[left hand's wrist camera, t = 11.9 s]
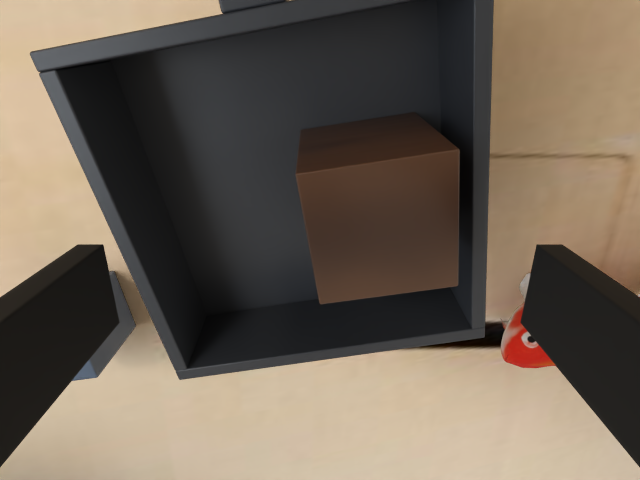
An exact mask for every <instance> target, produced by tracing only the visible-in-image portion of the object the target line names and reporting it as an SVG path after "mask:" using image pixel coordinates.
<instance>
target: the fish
mask: <svg viewBox="0 0 640 480" xmlns="http://www.w3.org/2000/svg"><path fill="white" fill-rule="evenodd" d="M530 274H531V273H528V274H526V276H525V277H524V279H523V280H522V282H521V283H520V287H519V289H520V292H521V294H522V295H523V298H524V303H525V298H526V293H527V289H528V284H529V279H530ZM638 297H640V294H639V295H638ZM524 303H523V304H522V305H520V306H519V307H518V308H517V309H516V310H515V311H514V313H513V315H512V316H511V318H510V320H509V322H503V321H502V319H501V318H500V319H501V321H502V324H503V327H504V329H505V331H504V334H503V338H502V343H501V353H502V356H503V359H504V360H505V361H506V362H508V363H511V364H514V365H516V366H519V367H523V368H540V367H546V366H556V365H555V364H554V363H553V362H552V360H551V359H550V358H549V357H548V355H547V354H546V353H545V352H544V351H543V349H542V348H541V347H540V346H539V345H538V343H537V342H536V341H535V340H534V339H533V337H532V336H531V335H530V334H529V332H528V331H527V330H526V329H525V328H524V326H523V325H522V324H521V323H520V322H521V317H522V312H523V307H524Z"/></svg>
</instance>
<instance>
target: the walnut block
mask: <svg viewBox="0 0 640 480" xmlns="http://www.w3.org/2000/svg"><path fill="white" fill-rule="evenodd" d="M459 164H460V150H459V149H458V148H457V147H456V146H455V145H454V144H452V143H451V142H450V141H449V140H448V139H446V138H445V137H444V136H443V135H442V134H440V133H439V132H438V131H437V130H436V129H434V128H433V127H432V126H431V125H430V124H428V123H427V122H426V121H425V120H424V119H422V118H421V117H420V116H419V115H418V114H416V113H415V112H411V113H405V114H398V115H392V116H386V117H379V118H373V119H366V120H360V121H354V122H347V123H341V124H335V125H328V126H322V127H316V128H309V129H303V130H300V138H299V147H298V156H297V165H296V174H295V176H296V181H297V186H298V192H299V197H300V202H301V208H302V213H303V218H304V224H305V229H306V234H307V240H308V245H309V250H310V256H311V261H312V267H313V272H314V277H315V283H316V288H317V293H318V299H319V303H320V304H326V303H334V302H341V301H349V300H356V299H364V298H371V297H379V296H386V295H394V294H402V293H409V292H417V291H424V290H432V289H439V288H447V287H454V286H458V259H459Z"/></svg>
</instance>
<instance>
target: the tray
mask: <svg viewBox="0 0 640 480" xmlns="http://www.w3.org/2000/svg"><path fill="white" fill-rule="evenodd" d="M219 4H220V8H221V11H222V13H223V14H220V15H215V16H210V17H205V18H200V19H195V20H190V21H184V22H179V23H174V24H169V25H164V26H159V27H154V28H149V29H144V30H139V31H134V32H129V33H123V34H118V35H113V36H108V37H103V38H98V39H93V40H88V41H83V42H78V43H73V44H68V45H63V46H57V47H52V48H47V49H42V50H37V51H32V52H30V56H31V58H32V60H33V62H34V64H35V66H36V69H37V71H38V72H41V73H39V75H40V77H41V80H42V82H43V84H44V86H45V88H46V90H47V93H48V95H49V97H50V99H51V101H52V103H53V106H54V108H55V110H56V112H57V114H58V117H59V119H60V121H61V123H62V125H63V127H64V130H65V132H66V134H67V136H68V138H69V140H70V143H71V145H72V147H73V149H74V151H75V154H76V156H77V158H78V160H79V162H80V164H81V167H82V169H83V171H84V173H85V175H86V177H87V180H88V182H89V184H90V186H91V188H92V190H93V193H94V195H95V197H96V199H97V201H98V204H99V206H100V208H101V210H102V212H103V214H104V217H105V219H106V221H107V223H108V225H109V227H110V230H111V232H112V234H113V236H114V238H115V240H116V243H117V245H118V247H119V249H120V251H121V254H122V256H123V258H124V260H125V262H126V264H127V267H128V269H129V271H130V273H131V275H132V277H133V280H134V282H135V284H136V286H137V288H138V291H139V293H140V295H141V297H142V299H143V301H144V304H145V306H146V308H147V310H148V312H149V314H150V317H151V319H152V321H153V323H154V325H155V327H156V330H157V332H158V334H159V336H160V338H161V341H162V343H163V345H164V347H165V349H166V351H167V354H168V356H169V358H170V360H171V362H172V364H173V367H174V369H175V370H176V373H177V375H178V378H179V379H180V380H182V379H189V378H196V377H203V376H211V375H218V374H225V373H232V372H239V371H246V370H254V369H261V368H268V367H275V366H282V365H289V364H297V363H304V362H311V361H318V360H325V359H332V358H340V357H347V356H354V355H361V354H368V353H375V352H383V351H390V350H397V349H404V348H411V347H418V346H426V345H433V344H440V343H447V342H454V341H461V340H469V339H476V338H483V337H485V306H486V268H487V231H488V193H489V156H490V118H491V81H492V44H493V6H494V0H291V1H289V0H219ZM411 112H415V113H416V114H418V115H419V116H420V117H421V118H422V119H424V120H425V121H426V122H427V123H428V124H430V125H431V126H432V127H433V128H434V129H436V130H437V131H438V132H439V133H440V134H442V135H443V136H444V137H445V138H446V139H448V140H449V141H450V142H451V143H452V144H454V145H455V146H456V147H457V148H458V149H459V150H460V164H459V259H458V286H454V287H447V288H439V289H432V290H424V291H417V292H409V293H402V294H394V295H386V296H379V297H371V298H364V299H356V300H349V301H341V302H334V303H326V304H320V303H319V299H318V293H317V288H316V283H315V277H314V272H313V267H312V261H311V256H310V250H309V245H308V240H307V234H306V229H305V224H304V218H303V213H302V208H301V202H300V197H299V192H298V186H297V181H296V176H295V174H296V165H297V156H298V147H299V138H300V130H303V129H309V128H316V127H322V126H328V125H335V124H341V123H347V122H354V121H360V120H366V119H373V118H379V117H386V116H392V115H398V114H405V113H411Z"/></svg>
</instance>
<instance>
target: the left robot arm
mask: <svg viewBox="0 0 640 480" xmlns="http://www.w3.org/2000/svg"><path fill="white" fill-rule="evenodd" d="M119 323H120V322H119V317H118V312H117V307H116V303H115V298H114V293H113V289H112V284H111V279H110V274H109V270H108V265H107V260H106V256H105V251H104V246H103V245H77V246H75V247H74V248H72V249H71V250H69V251H68V252H66V253H65V254H63V255H62V256H60V257H59V258H57V259H56V260H55V261H53V262H52V263H50V264H49V265H47V266H46V267H44V268H43V269H41V270H40V271H38V272H37V273H35V274H34V275H32V276H31V277H30V278H28V279H27V280H25V281H24V282H22V283H21V284H19V285H18V286H16V287H15V288H13V289H12V290H10V291H9V292H7V293H6V294H5V295H3V296H2V297H0V467H1V466H2V464H3V463H4V462H5V461H6V460H7V458H8V457H9V456H10V455H11V454H12V452H13V451H14V450H15V449H16V448H17V446H18V445H19V444H20V443H21V441H22V440H23V439H24V438H25V437H26V435H27V434H28V433H29V432H30V431H31V429H32V428H33V427H34V426H35V425H36V423H37V422H38V421H39V420H40V418H41V417H42V416H43V415H44V414H45V412H46V411H47V410H48V409H49V408H50V406H51V405H52V404H53V403H54V402H55V400H56V399H57V398H58V397H59V395H60V394H61V393H62V392H63V391H64V389H65V388H66V387H67V386H68V385H69V383H70V382H71V381H72V380H73V379H74V377H75V376H76V375H77V374H78V372H79V371H80V370H81V369H82V368H83V366H84V365H85V364H86V363H87V362H88V360H89V359H90V358H91V357H92V355H93V354H94V353H95V352H96V351H97V349H98V348H99V347H100V346H101V345H102V343H103V342H104V341H105V340H106V339H107V337H108V336H109V335H110V334H111V332H112V331H113V330H114V329H115V328H116V326H117V325H118V324H119ZM520 323H521V324H522V325H523V326H524V328H525V329H526V330H527V331H528V332H529V334H530V335H531V336H532V337H533V339H534V340H535V341H536V342H537V343H538V345H539V346H540V347H541V348H542V349H543V351H544V352H545V353H546V354H547V355H548V357H549V358H550V359H551V360H552V362H553V363H554V364H555V365H556V366H557V368H558V369H559V370H560V371H561V372H562V374H563V375H564V376H565V377H566V379H567V380H568V381H569V382H570V383H571V385H572V386H573V387H574V388H575V389H576V391H577V392H578V393H579V394H580V395H581V397H582V398H583V399H584V400H585V402H586V403H587V404H588V405H589V406H590V408H591V409H592V410H593V411H594V412H595V414H596V415H597V416H598V417H599V418H600V420H601V421H602V422H603V423H604V425H605V426H606V427H607V428H608V429H609V431H610V432H611V433H612V434H613V435H614V437H615V438H616V439H617V440H618V441H619V443H620V444H621V445H622V446H623V448H624V449H625V450H626V451H627V452H628V454H629V455H630V456H631V457H632V458H633V460H634V461H635V462H636V463H637V464H638V466H639V467H640V297H638V296H637V295H635V294H634V293H633V292H631V291H630V290H628V289H627V288H625V287H624V286H622V285H621V284H619V283H618V282H616V281H615V280H613V279H612V278H610V277H609V276H608V275H606V274H605V273H603V272H602V271H600V270H599V269H597V268H596V267H594V266H593V265H591V264H590V263H588V262H587V261H585V260H584V259H583V258H581V257H580V256H578V255H577V254H575V253H574V252H572V251H571V250H569V249H568V248H566V247H565V246H563V245H537V246H536V251H535V256H534V260H533V265H532V270H531V274H530V279H529V284H528V289H527V293H526V298H525V303H524V307H523V312H522V317H521V322H520Z"/></svg>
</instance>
